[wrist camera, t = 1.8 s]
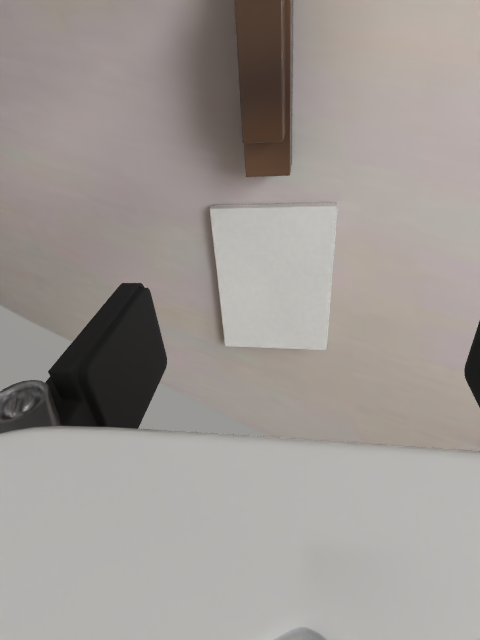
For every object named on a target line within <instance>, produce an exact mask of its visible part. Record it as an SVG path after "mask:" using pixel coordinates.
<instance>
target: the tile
mask: <svg viewBox="0 0 480 640" xmlns="http://www.w3.org/2000/svg"><path fill="white" fill-rule="evenodd" d="M210 217H211V225H212V234H213V243H214V252H215V261H216V270H217V278H218V287H219V296H220V305H221V314H222V322H223V331H224V340H225V346H234V347H260V348H286V349H311V350H326V349H327V337H328V324H329V310H330V297H331V284H332V271H333V258H334V245H335V232H336V219H337V203H336V202H334V203H288V204H242V205H212V206H211V208H210Z"/></svg>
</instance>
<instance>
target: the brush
mask: <svg viewBox="0 0 480 640" xmlns="http://www.w3.org/2000/svg"><path fill="white" fill-rule="evenodd" d="M235 16H236V33H237V50H238V67H239V84H240V102H241V119H242V136H243V143H244V151H245V169H246V177H258V176H288V175H290V172H291V165H292V94H293V0H235Z"/></svg>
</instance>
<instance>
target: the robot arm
mask: <svg viewBox="0 0 480 640" xmlns="http://www.w3.org/2000/svg"><path fill="white" fill-rule="evenodd" d="M166 365H167V357H166V352H165V348H164V344H163V341H162V337H161V333H160V329H159V325H158V321H157V317H156V313H155V309H154V305H153V301H152V297H151V293H150V290H149V289H148V288H144V286H143V284H141V283H122V284H121V285H120V286H119V287H118V288H117V289H116V291H115V292H114V293H113V294H112V295H111V297H110V298H109V299H108V300H107V301H106V303H105V304H104V305H103V306H102V307H101V309H100V310H99V311H98V312H97V313H96V315H95V316H94V317H93V318H92V320H91V321H90V322H89V323H88V324H87V326H86V327H85V328H84V329H83V330H82V332H81V333H80V334H79V335H78V336H77V338H76V339H75V340H74V341H73V342H72V344H71V345H70V346H69V347H68V348H67V350H66V351H65V352H64V353H63V354H62V356H61V357H60V358H59V359H58V360H57V362H56V363H55V364H54V365H53V366H52V368H51V369H50V370H49V371H48V372H49V374H50V377H49V379H48V380H47V381H46V383H44V382H42V381H38V380H29V381H23V382H19V383H16V384H13V385H11V386H9V387H7V388H5V389H3V390H2V391H0V640H480V451H472V450H457V449H443V448H429V447H415V446H401V445H387V444H372V443H357V442H342V441H327V440H312V439H297V438H281V437H265V436H249V435H234V434H217V433H199V432H183V431H166V430H150V429H138V427H139V425H140V423H141V421H142V418H143V417H144V414H145V412H146V410H147V408H148V406H149V404H150V401H151V399H152V397H153V395H154V393H155V391H156V388H157V386H158V384H159V382H160V380H161V378H162V375H163V373H164V371H165V369H166ZM465 378H466V381H467V383H468V385H469V387H470V389H471V391H472V393H473V395H474V397H475V399H476V401H477V403H478V405H479V407H480V322H479V325H478V328H477V331H476V334H475V337H474V340H473V343H472V346H471V349H470V352H469V355H468V359H467V362H466V365H465Z"/></svg>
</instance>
